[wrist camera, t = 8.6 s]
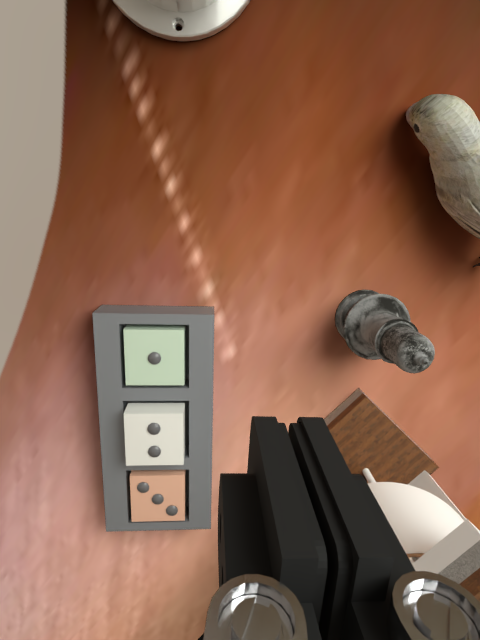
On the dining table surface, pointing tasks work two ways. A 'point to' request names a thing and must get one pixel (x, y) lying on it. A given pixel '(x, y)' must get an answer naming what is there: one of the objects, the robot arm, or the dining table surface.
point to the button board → (119, 394)
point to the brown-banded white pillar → (407, 491)
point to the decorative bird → (451, 154)
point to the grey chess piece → (383, 331)
